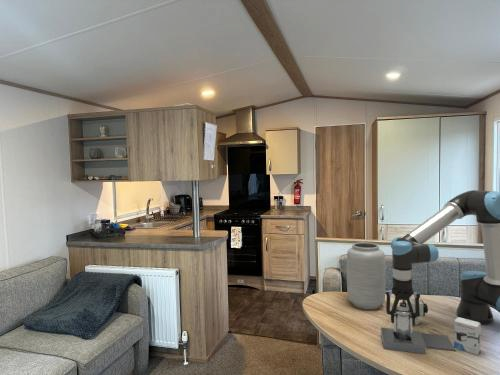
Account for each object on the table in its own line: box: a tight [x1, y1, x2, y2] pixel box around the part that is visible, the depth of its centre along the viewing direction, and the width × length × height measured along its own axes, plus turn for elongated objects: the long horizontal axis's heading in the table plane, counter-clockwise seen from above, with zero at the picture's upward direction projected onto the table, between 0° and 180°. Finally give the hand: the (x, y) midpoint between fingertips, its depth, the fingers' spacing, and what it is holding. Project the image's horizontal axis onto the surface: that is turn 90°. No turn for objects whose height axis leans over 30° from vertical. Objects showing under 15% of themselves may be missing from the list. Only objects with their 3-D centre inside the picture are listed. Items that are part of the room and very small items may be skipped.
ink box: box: [453, 316, 482, 356], centre depth 137 cm, size 8×5×12 cm, turn 44°
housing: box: [380, 327, 427, 355], centre depth 142 cm, size 16×12×4 cm
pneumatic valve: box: [399, 298, 429, 326], centre depth 161 cm, size 6×12×12 cm, turn 78°
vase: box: [346, 241, 386, 310], centre depth 184 cm, size 20×20×34 cm
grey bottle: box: [395, 306, 411, 341], centre depth 142 cm, size 7×7×13 cm
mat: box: [420, 332, 456, 352], centre depth 143 cm, size 12×12×1 cm
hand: (402, 330), depth 142 cm, fingers closed on grey bottle, 6 cm apart
